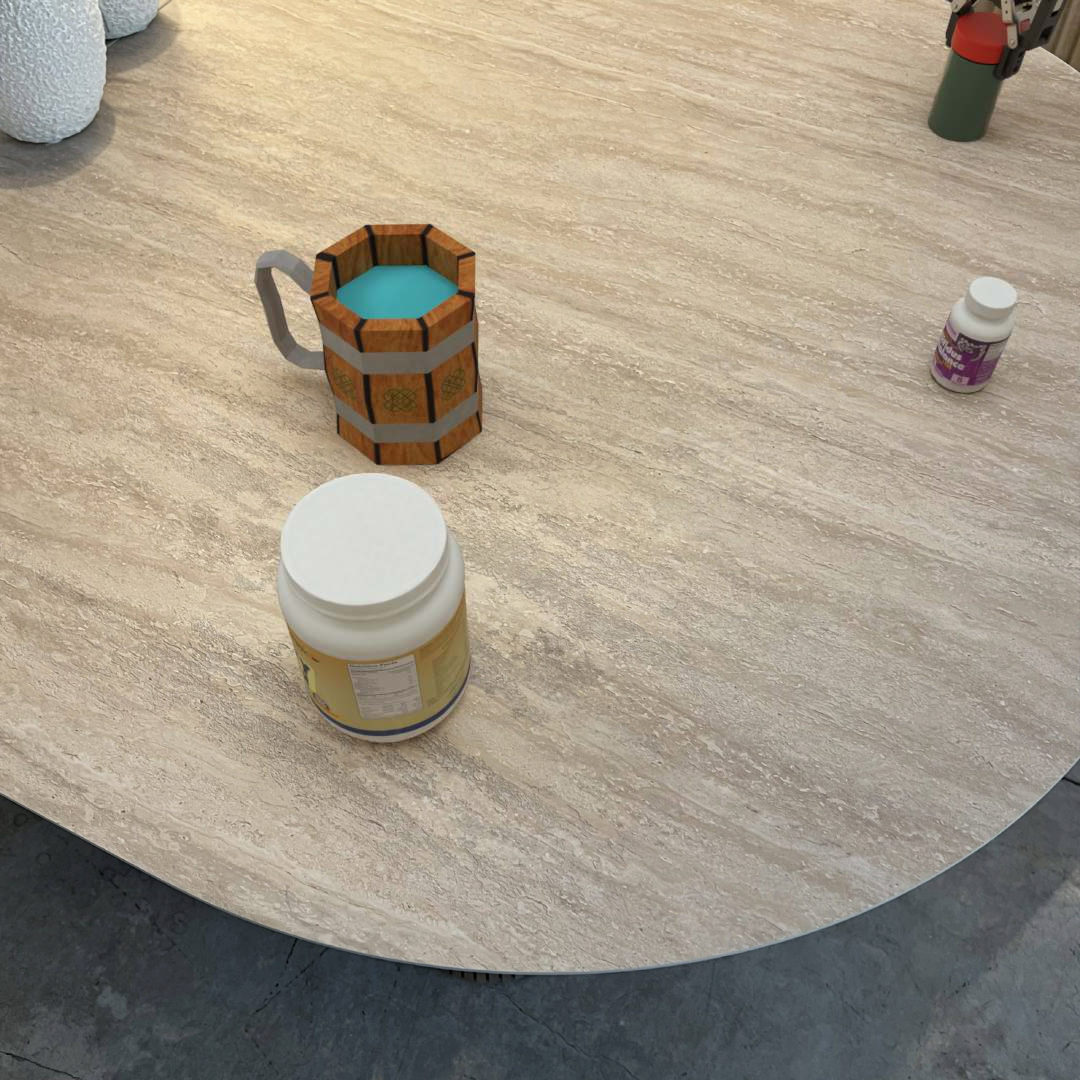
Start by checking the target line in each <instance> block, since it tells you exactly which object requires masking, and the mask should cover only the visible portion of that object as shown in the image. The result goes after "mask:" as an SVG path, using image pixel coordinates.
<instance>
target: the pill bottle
mask: <svg viewBox="0 0 1080 1080" xmlns="http://www.w3.org/2000/svg"><path fill="white" fill-rule="evenodd" d="M1018 298H1019V297H1018V292H1017V291H1016V289H1015V287H1014V286H1013V285H1012V284H1011V283H1009V282H1007V281H1006V280H1003V279H1002V278H998V277H995V276H982V277H978V278H976V279H973V281H972V282H971V283H970V284H969V286H968V288H967V290H966V293H965V295H964V296H962V297H960V298H959V299H958V300H957V301H956V302H955V303H954V304H953V306H952V308H951V309H950V312H949V315H948V317H947V319H946V322H945V325H944V327H943V330H942V333H941V335H940V337H939V340H938V343H937V345H936V347H935V349H934V354H933V355H932V358H931V361H930V372H931V374H932V376H933V378H934V379H935V381H936V382H937V383H938V384H940V385H941V386H942V387H943V388H945V389H947V390H949V391H952V392H955V393H961V394H968V393H974V392H977V391H980V390H982V389H984V388H985V387H986V386H987V384H988V383H989V382H990V380H991V378H992V376H993V374H994V371H995V369H996V367H997V365H998V363H999V361H1000V359H1001V356H1002V354H1003V352H1004V350H1005V348H1006V345H1007V343H1008V341H1009V339H1010V338H1011V335H1012V333H1013V330H1014V327H1015V323H1016V320H1015V315H1014V310H1015V306H1016V305H1017V301H1018Z"/></svg>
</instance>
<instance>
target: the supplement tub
mask: <svg viewBox="0 0 1080 1080" xmlns="http://www.w3.org/2000/svg"><path fill="white" fill-rule="evenodd" d="M279 548H280V555H281V557H280V560H279V562H278V567H277V573H276V593H277V600H278V605H279V608H280V610H281V613H282V615H283V618H284V621H285V624H286V628H287V630H288V633H289V637H290V640H291V643H292V646H293V649H294V652H295V655H296V659H297V663H298V665H299V669H300V672H301V676H302V679H303V682H304V683H303V684H304V687H305V691H306V694H307V697H308V699H309V700H310V702H311V704H312V706H313V707H314V708H315V710H316V712H318V713H319V715H320V716H321V717H322V718H324V720H326V722H327V723H329V724H330V725H331V726H333V727H334V728H335V729H336V730H338V731H340V732H341V733H344V734H346V735H348V736H350V737H353V738H355V739H359V740H363V741H368V742H373V743H374V742H375V743H396V742H401V741H405V740H408V739H412V738H415V737H417V736H419V735H422V734H424V733H426V732H427V731H429V730H431V729H433V728H434V727H436V726H437V725H438V724H439V723H441V722H442V721H443V720H444V719H445V718H447V716H448V715H450V713H451V712H452V711H453V710H454V709H455V707H456V706H457V705H458V703H459V702H460V701H461V699H462V697H463V695H464V693H465V691H466V689H467V685H468V683H469V680H470V676H471V671H472V650H471V646H470V645H471V644H470V636H469V635H470V634H469V622H468V610H467V598H466V597H467V596H466V584H465V583H466V567H465V561H464V557H463V553H462V551H461V547H460V545H459V543H458V541H457V539H456V537H455V535H454V533H453V532H452V530H451V529H450V528H449V527H448V525H447V523H446V519H445V516H444V513H443V512H442V509H441V507H440V506H439V504H438V503H437V502H436V500H435V499H434V498H433V497H432V495H431V494H429V493H428V491H426V490H425V489H423V488H422V487H420V486H419V485H418V484H416V483H414V482H412V481H410V480H408V479H405V478H402V477H400V476H396V475H392V474H387V473H381V472H362V473H360V472H359V473H353V474H348V475H343V476H339V477H337V478H333V479H331V480H329V481H327V482H324V483H322V484H321V485H319V486H316V488H314V489H312V490H311V491H310V492H309V493H307V494H306V495H305V496H303V498H301V499H300V500H299V501H298V502H297V503H296V504H295V506H294V507H293V508H292V510H291V511H290V512H289V514H288V516H287V518H286V520H285V521H284V524H283V527H282V530H281V534H280V541H279Z"/></svg>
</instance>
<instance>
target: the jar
mask: <svg viewBox="0 0 1080 1080" xmlns="http://www.w3.org/2000/svg"><path fill="white" fill-rule="evenodd" d="M998 64H999V63H996V64H987V63H979V62H975V61H972V60H969V59H966V58H964V57H962V56H961V55H959V54H958V53H957V52H956V51H955V50H954V49H953V47H952V45H951V47H950V48H949V50H948V53H947V56H946V60H945V63H944V66H943V70H942V73H941V76H940V80H939V82H938V86H937V89H936V93H935V97H934V98H933V103H932V104H931V105H932V106H931V108H930V112H929V115H928V117H927V124H928V127H929V128H930V130H931V131H932V132H933V133H935V134H936V135H938V136H939V137H941V138H943V139H946V140H948V141H952V142H958V143H959V142H960V143H970V142H975V141H978V140H980V139H981V138H983V137H984V136H985V135H986V133H987V132H988V128H989V125H990V123H991V121H992V118H993V114H994V111H995V109H996V106H997V103H998V100H999V97H1000V95H1001V92H1002V89H1003V86H1004V83H1005V81H1006V79H1005V80H1002V81H999V80H998V79H996V78H995V77H994V76H995V72H996V70H997V67H998Z"/></svg>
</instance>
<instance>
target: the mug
mask: <svg viewBox="0 0 1080 1080" xmlns="http://www.w3.org/2000/svg"><path fill="white" fill-rule="evenodd" d="M314 260H315V261H314V267H313V269H312V268H311V267H310V266H309V265H308V264H307V263H306V262H305V261H304V260H302V258H300V257H299V256H296V255H295V254H293V253H291V252H290V251H288V250H286V249H284V248H281V249H275V250H268V251H264V252H263V253H262V254H260V255H259V257H258V258H257V261H256V263H255V270H254V279H253V282H254V285H255V288H256V291H257V293H258V296H259V299H260V302H261V304H262V308H263V311H264V315H265V319H266V323H267V326H268V329H269V332H270V335H271V339H272V342H273V344H274V345H275V346H276V348H277V349H278V351H279V353H280V354H281V355H282V356H283V358H284V359H285V360H286V361H288V362H289V363H291V364H292V365H295V366H296V367H298V368H300V369H306V370H317V371H324V373H325V375H326V378H327V381H328V385H329V387H330V390H331V393H332V397H333V403H334V408H335V412H336V434H337V435H338V436H339V437H340V438H342V439H343V440H344V441H346V442H347V443H348V444H350V445H351V446H352V447H354V448H355V449H356V450H357V451H359V452H360V453H361V454H362V455H364V456H365V457H366V458H368V459H369V460H370V461H372V462H373V463H374V464H375V465H376V466H385V465H386V466H388V465H389V466H392V465H394V466H395V465H397V466H398V465H440V463H442V462H443V461H445V460H446V459H447V458H448V457H450V456H451V455H452V454H454V453H455V452H457V451H458V450H459V449H460V448H462V447H463V446H464V445H466V444H467V443H469V442H470V441H471V440H472V439H474V438H476V437H477V435H479V434H480V433H482V432H483V386H482V385H483V384H482V379H481V376H480V371H479V328H480V327H479V319H478V314H477V313H478V312H477V307H476V301H475V300H476V252H475V251H474V250H472V249H471V248H469V247H468V246H466V245H465V244H463V243H461V242H459V241H458V240H457V239H455V238H453V237H452V236H450V235H449V234H447V233H446V232H444V231H443V230H441V229H439V228H438V227H436V226H434V225H433V224H431V223H401V224H400V223H396V224H395V223H392V224H391V223H390V224H389V223H388V224H382V223H381V224H364V225H363V226H362V227H360V228H358V229H356V230H355V231H353V232H350V233H349V234H348V235H346V236H345V237H343V238H341V239H339V240H338V241H336V242H334V243H333V244H331V245H329V246H328V247H326V248H324V249H322V250H321V251H320V252H317V253H316V254H315V259H314ZM272 269H276V270H277V271H280V272H281V273H284V274H285V275H286V276H288V277H289V278H291V280H292V281H293V282H294V283H295V284H296V285H297V286H298V287H299V288H300V289H301V290H303V291H304V292H305V293H306V294H307V295H309V300H310V302H311V306H312V308H313V310H314V314H315V316H316V319H317V322H318V327H319V332H320V338H321V342H322V350H315V351H314V350H313V351H311V350H309V349H307V348H306V347H304V346H302V345H301V344H299V343H298V342H297V341H296V340H295V338H294V336H293V335H292V332H291V331H290V330H289V325H288V322H287V318H286V314H285V310H284V305H283V302H282V301H283V300H282V297H281V295H280V293H279V290H278V287H277V285H276V284H277V283H276V282H275V279H274V276H273V273H272V271H273V270H272Z"/></svg>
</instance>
